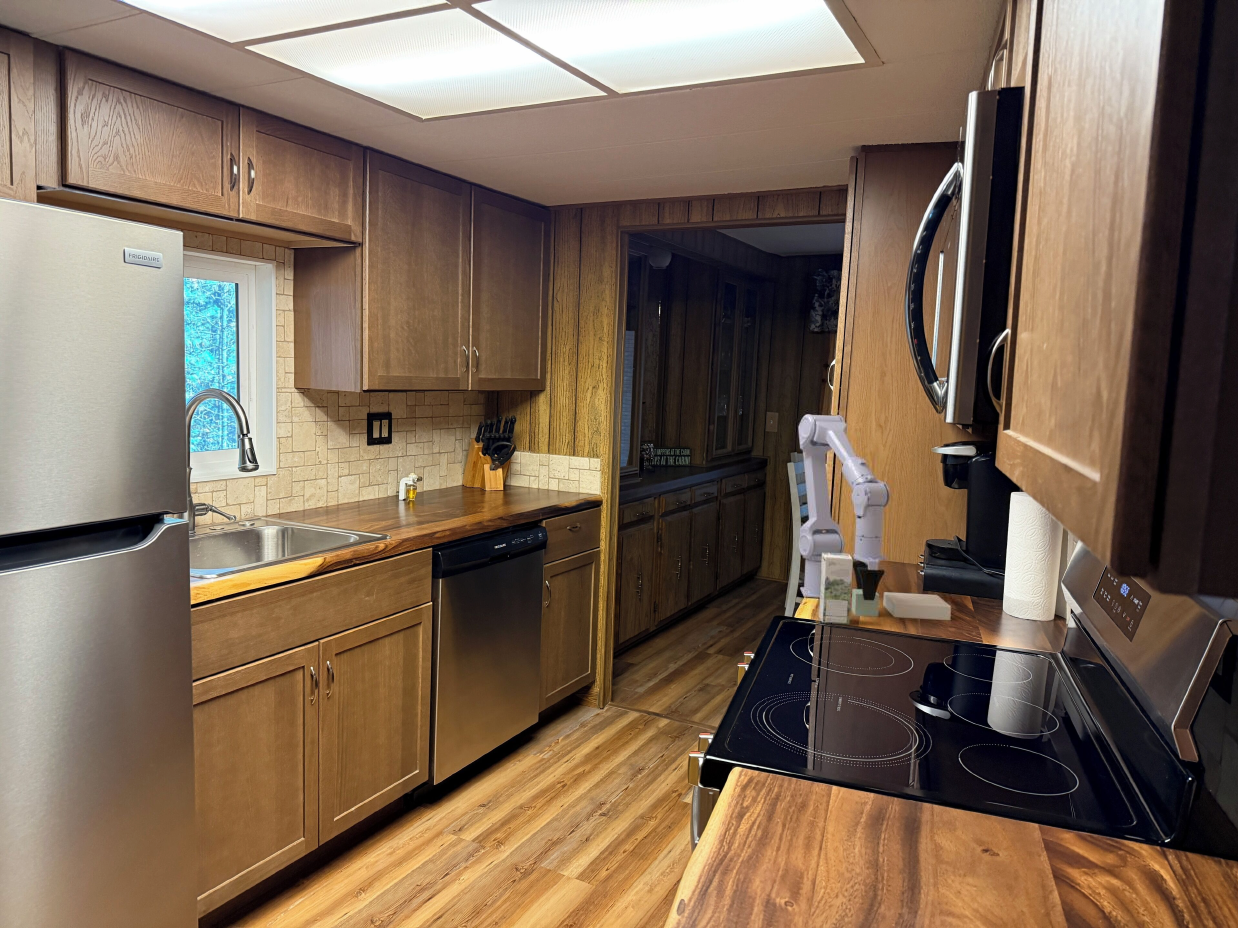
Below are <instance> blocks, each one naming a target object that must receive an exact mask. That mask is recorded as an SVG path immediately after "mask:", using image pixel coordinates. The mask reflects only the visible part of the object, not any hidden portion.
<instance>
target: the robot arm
mask: <svg viewBox="0 0 1238 928" xmlns="http://www.w3.org/2000/svg"><path fill="white" fill-rule="evenodd" d="M847 430H848V425H847V423H846V421H845V419H844V418H843V416H842V415H838V414H836V415H825V414H824V415H822V414H821V415H820V414H819V415H818V414H809V413H808V414H805V415H804V416H803V417H802V418H801V420H800V422H799V425H798V438H799V440H798V441H799V449H800V450H802V455H803V467H804V479H805V488H806V489H805V490H806V498H807V499H806V500H807V511H808V512H807V513H808V520H807V521H806V522H805V523H803V525H801V527H800V528H799V538H798V550H799V552H800V554H801V556H802V558H803V559H805V560H804V561H805V562H804V564H805V565H804V581H803V582H804V583H803V584H804V585H803V586H801V587H800V588H799V589H800V591H801V594H802V595H803V597H804V598H819V599H820V583H821V563H822V553H841V554H844V551H845V540H844V537H843V534H842V530H841V525H840V524H838V523H837V522H836V521H835V520H833V519H832V515H831V507H830V506H831V504H830V494H829V485H828V472H827V464H826V455H827V453H828V452H830V451H833V452H834V454H835V455H836V457H837V458H838V459H839V461H840V462H841V464H842V466H841V473H842V475H843V477H844V478H845V480H846V482H847V483H848V485H849V486H850V489H851V490H852V493H851V501H852V504H853V512H854V515H855V536H854V537H855V538H854V539H855V540H854V553H853V557H852V559H853V567H852V570H853V572H854V577H855V583H856V589H862V592H863V598H864V600H872V601H874V599H875V595H876V592H877V591H878V587H879V585H880V582H881V580H882V578H883V577H884V575H885V573H886V571H885V570H884V569H879V563H880V562H881V561H886V560H887V559H888V558H887V556H886V555H882V546H883V545H882V542H883V526H884V525H883V524H884V508H886V507H887V506H888V504H889V502H890V498H891V493H890V489H889V486H888V485H887V483H886V482H885V481H881V480H880V479H878V478H876V476H875V475H874V473H873V472H872V470H871V469H870V467H869V465H868V464H867V461H866V460H865V458H863V457H859V456H857V455H856V453H855V451H854V449H853V448H854V447H853V446H852V445H851V442H850V441H849V438H848V436H847V433H848V432H847ZM808 591H809V593H808ZM877 593H878V592H877Z"/></svg>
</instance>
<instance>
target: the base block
mask: <svg viewBox="0 0 1238 928" xmlns="http://www.w3.org/2000/svg"><path fill="white" fill-rule="evenodd" d="M882 602H883V603H882V605H883V606H884V607H885V609H886V610H887V611H888V612H889V613H890V614H891V616H892V617H893V618H902V619H903V618H905V619H920V620H921V619H922V620H937V621H939V620H941V621H951V615H952V614H951V613H952V612H951V611H952V606H951V605H949V604H948V603H947V602H946V601H945V600H944V599H942V598H941V597H940V596H939V595H937V594H926V593H925V594H922V593H905V592H886V591H884V592H883V601H882Z"/></svg>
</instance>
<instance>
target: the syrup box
mask: <svg viewBox="0 0 1238 928" xmlns="http://www.w3.org/2000/svg"><path fill="white" fill-rule="evenodd" d="M853 561H854V558H853V557H852V556H851V555H850V554H849V553H842V554H841V553H822V563H821V583H820V598H819V605H818V617H819V620H820V621H821V622H822V624H831V623H832V624H833V625H834V624H835V625H850V616H851V615H850V614H851V600H852V580H853V579H852V578H853ZM832 624H831V625H832Z"/></svg>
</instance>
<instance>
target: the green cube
mask: <svg viewBox="0 0 1238 928" xmlns="http://www.w3.org/2000/svg"><path fill="white" fill-rule="evenodd" d="M879 610H880V594H879V593H878V592H876V595H875V599H874V601H872V600H864V598H863V592H862V589H857V588H852V589H851V608H850V611H851V612H852V613H853V615H854V617H855V616H857V617H871V618H872V617H873V618H878V617H879Z"/></svg>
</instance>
